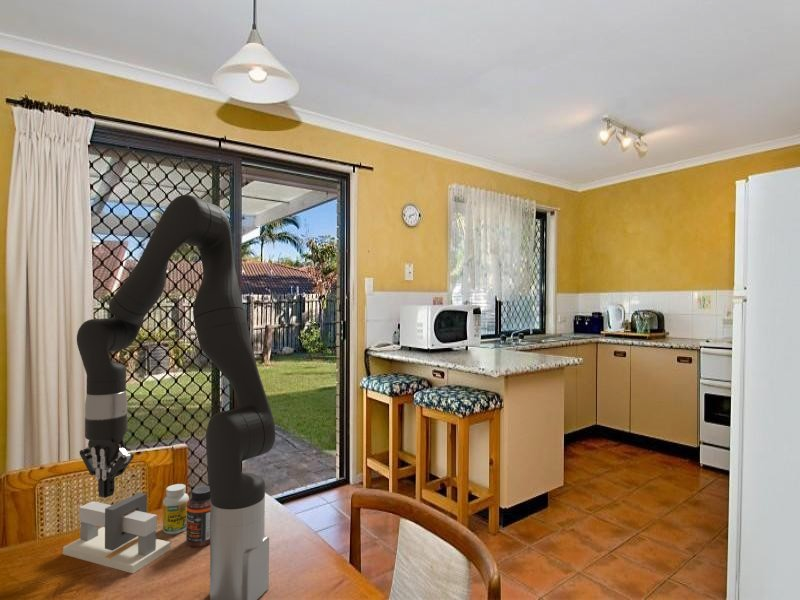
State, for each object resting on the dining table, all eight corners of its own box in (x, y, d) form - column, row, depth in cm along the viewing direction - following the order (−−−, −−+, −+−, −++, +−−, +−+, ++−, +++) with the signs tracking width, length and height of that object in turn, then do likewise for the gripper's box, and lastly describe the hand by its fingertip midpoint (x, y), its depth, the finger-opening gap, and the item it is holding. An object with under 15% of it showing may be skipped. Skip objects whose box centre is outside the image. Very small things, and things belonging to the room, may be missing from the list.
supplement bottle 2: (179, 545, 98) (180, 493, 98) (198, 531, 104) (198, 482, 104) (204, 549, 97) (204, 496, 97) (221, 535, 103) (222, 485, 103)
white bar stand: (170, 549, 97) (170, 508, 97) (133, 573, 89) (133, 528, 88) (103, 533, 103) (104, 494, 103) (62, 554, 95) (63, 512, 95)
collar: (146, 531, 98) (146, 493, 98) (112, 550, 91) (112, 510, 91) (139, 529, 99) (139, 492, 99) (104, 548, 92) (105, 508, 91)
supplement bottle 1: (186, 521, 109) (187, 480, 109) (190, 530, 105) (191, 488, 105) (161, 527, 106) (161, 485, 106) (164, 537, 102) (164, 494, 102)
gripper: (146, 412, 98) (145, 493, 98) (100, 406, 102) (99, 484, 102) (114, 420, 91) (113, 508, 91) (65, 415, 95) (65, 498, 95)
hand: (106, 495), depth 97 cm, fingers closed
